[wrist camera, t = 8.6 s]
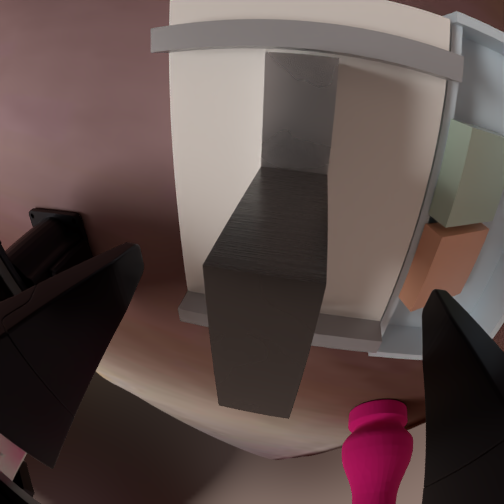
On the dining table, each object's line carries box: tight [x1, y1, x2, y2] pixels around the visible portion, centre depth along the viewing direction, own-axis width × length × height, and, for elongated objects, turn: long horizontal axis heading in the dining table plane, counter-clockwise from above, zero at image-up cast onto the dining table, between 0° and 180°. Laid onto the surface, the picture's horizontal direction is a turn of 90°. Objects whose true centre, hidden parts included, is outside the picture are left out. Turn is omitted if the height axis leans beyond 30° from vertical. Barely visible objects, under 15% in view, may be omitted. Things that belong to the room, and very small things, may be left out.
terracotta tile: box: [398, 222, 489, 312], centre depth 14 cm, size 4×4×1 cm
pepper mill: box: [342, 399, 413, 504], centre depth 19 cm, size 7×7×20 cm
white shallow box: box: [151, 0, 464, 353], centre depth 13 cm, size 11×18×4 cm, turn 178°
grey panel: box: [203, 52, 339, 419], centre depth 9 cm, size 2×12×8 cm, turn 178°
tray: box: [368, 11, 504, 360], centre depth 12 cm, size 8×19×4 cm, turn 178°
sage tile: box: [428, 119, 504, 228], centre depth 11 cm, size 4×4×1 cm
